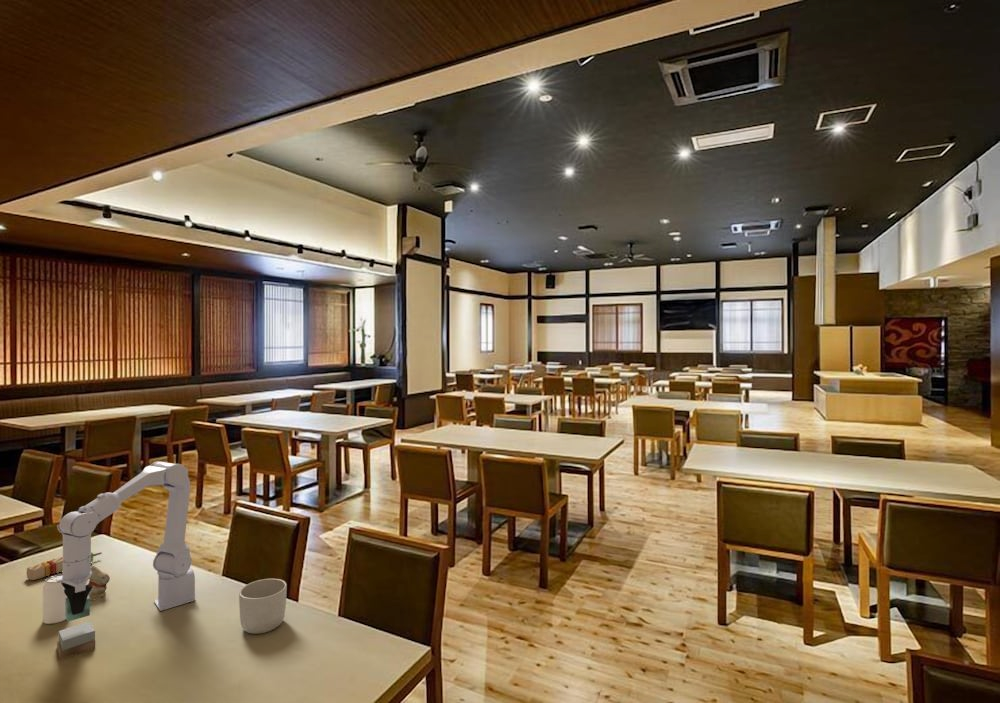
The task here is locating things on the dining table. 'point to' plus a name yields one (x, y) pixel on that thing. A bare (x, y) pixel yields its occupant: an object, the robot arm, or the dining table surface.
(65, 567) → the robot arm
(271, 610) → the planter
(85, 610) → the teal block
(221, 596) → the dining table surface
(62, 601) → the can
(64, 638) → the tower top
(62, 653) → the tower base
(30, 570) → the skewer
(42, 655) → the dining table surface
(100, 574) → the chocolate bunny
